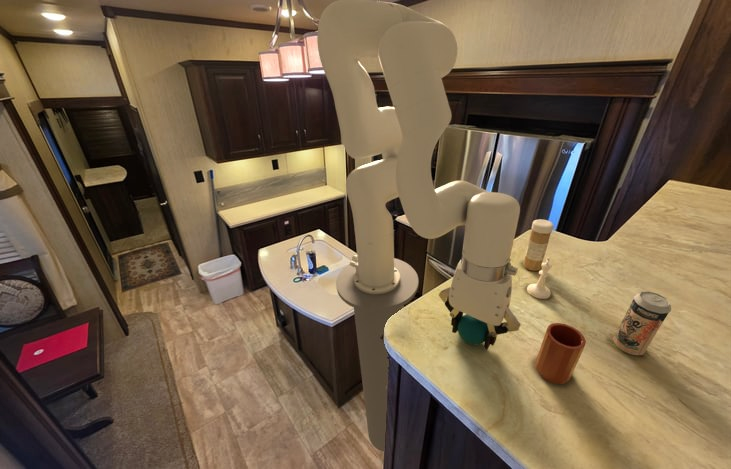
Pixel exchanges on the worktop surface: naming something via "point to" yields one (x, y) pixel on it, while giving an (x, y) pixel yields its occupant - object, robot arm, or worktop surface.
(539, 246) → the sprinkles bottle
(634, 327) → the beer can
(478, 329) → the ball
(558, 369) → the tumbler
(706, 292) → the worktop surface
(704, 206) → the worktop surface
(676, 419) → the worktop surface
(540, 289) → the chess piece
